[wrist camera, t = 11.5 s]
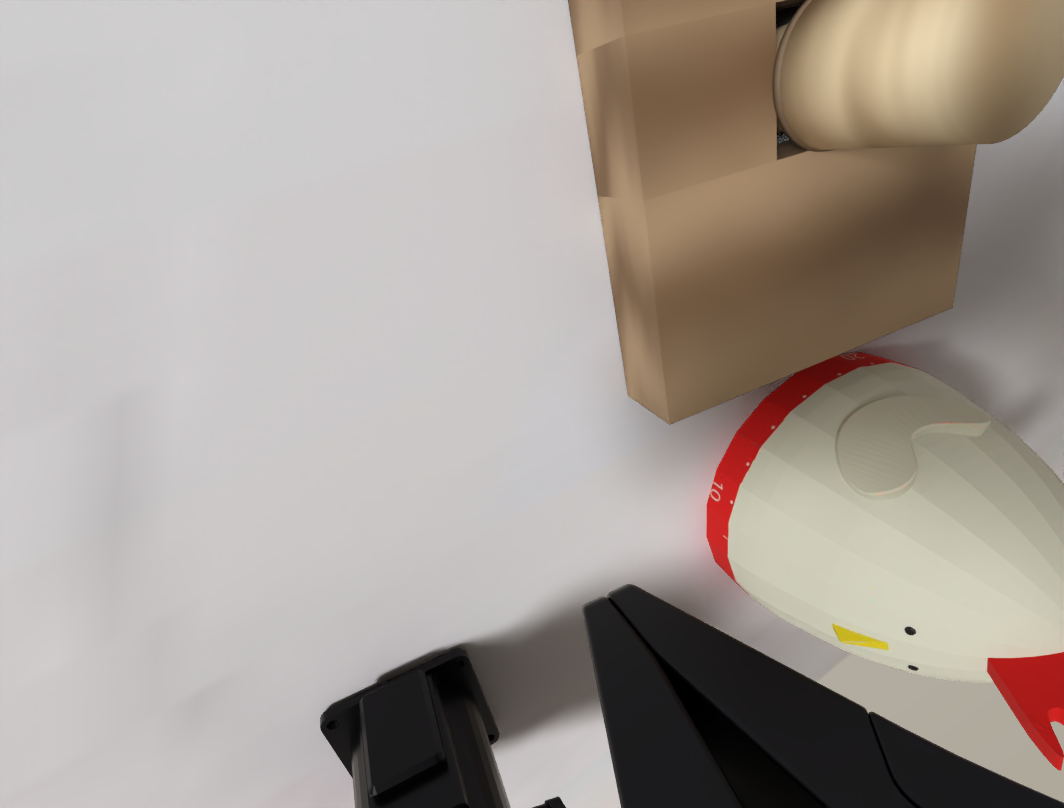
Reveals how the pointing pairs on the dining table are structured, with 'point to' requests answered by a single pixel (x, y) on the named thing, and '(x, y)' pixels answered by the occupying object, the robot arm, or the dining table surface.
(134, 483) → the dining table surface
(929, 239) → the board
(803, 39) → the peg
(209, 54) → the dining table surface
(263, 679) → the dining table surface
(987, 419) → the kitchen timer
